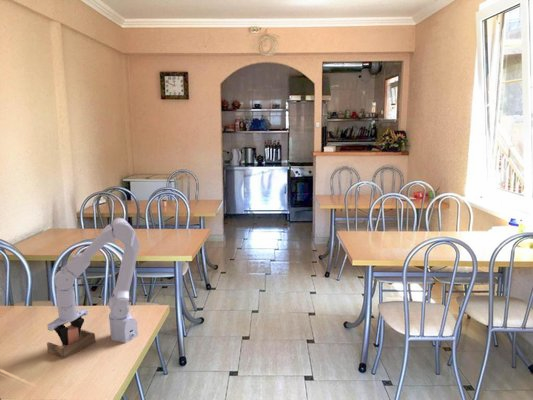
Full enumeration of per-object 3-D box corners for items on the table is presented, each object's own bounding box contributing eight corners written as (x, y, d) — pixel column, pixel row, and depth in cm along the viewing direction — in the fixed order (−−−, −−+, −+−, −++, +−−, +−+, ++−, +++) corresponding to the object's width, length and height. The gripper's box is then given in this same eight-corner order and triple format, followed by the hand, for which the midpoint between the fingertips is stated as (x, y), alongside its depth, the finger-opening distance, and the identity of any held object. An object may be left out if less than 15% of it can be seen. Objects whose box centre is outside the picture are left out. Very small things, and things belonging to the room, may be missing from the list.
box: (95, 343, 161) (94, 333, 160) (64, 360, 150) (63, 349, 150) (79, 338, 165) (78, 328, 165) (48, 354, 155) (46, 343, 154)
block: (79, 343, 159) (77, 327, 158) (69, 348, 155) (67, 332, 154) (72, 340, 161) (70, 325, 160) (62, 345, 157) (60, 329, 156)
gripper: (77, 295, 164) (80, 330, 166) (40, 310, 151) (44, 348, 154) (90, 299, 160) (93, 334, 162) (53, 314, 148) (57, 352, 150)
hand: (70, 341), depth 158 cm, fingers closed on block, 4 cm apart
